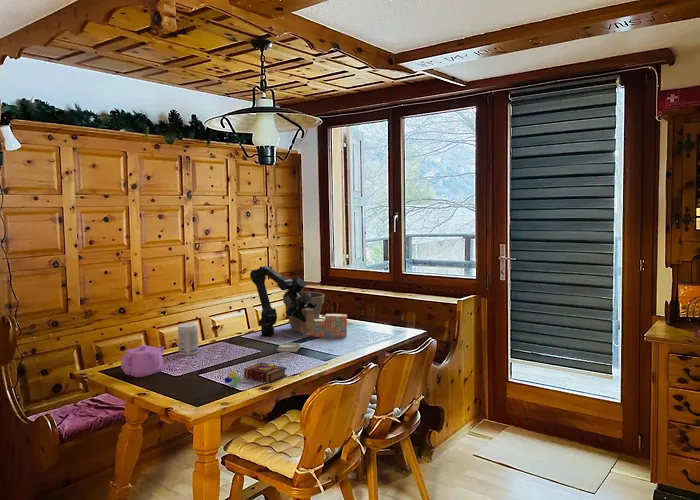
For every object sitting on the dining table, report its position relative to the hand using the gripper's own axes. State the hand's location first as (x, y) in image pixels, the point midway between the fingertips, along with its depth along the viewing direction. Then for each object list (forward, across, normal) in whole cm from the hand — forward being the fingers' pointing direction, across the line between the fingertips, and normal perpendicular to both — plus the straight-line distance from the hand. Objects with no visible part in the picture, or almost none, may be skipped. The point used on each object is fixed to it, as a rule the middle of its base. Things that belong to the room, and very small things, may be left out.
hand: (309, 321), depth 288 cm
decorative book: (+26, -50, -7) cm, 56 cm away
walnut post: (+4, 0, +6) cm, 7 cm away
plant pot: (-11, +24, +31) cm, 41 cm away
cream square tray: (+7, -11, +12) cm, 18 cm away
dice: (+26, -66, -7) cm, 71 cm away
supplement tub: (-15, -51, +35) cm, 64 cm away
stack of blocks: (+4, +23, +16) cm, 28 cm away
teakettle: (-7, -81, +27) cm, 86 cm away
